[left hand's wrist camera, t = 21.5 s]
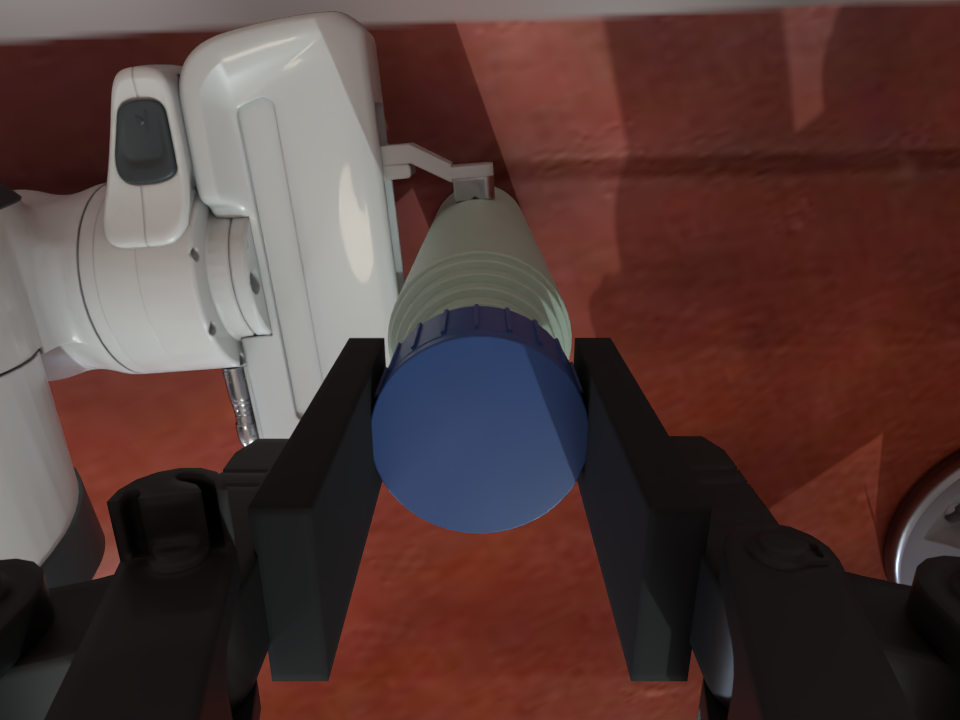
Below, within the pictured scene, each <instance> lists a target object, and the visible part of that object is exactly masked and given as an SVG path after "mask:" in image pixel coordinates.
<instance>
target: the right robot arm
mask: <svg viewBox="0 0 960 720" xmlns="http://www.w3.org/2000/svg"><path fill="white" fill-rule="evenodd" d="M415 166H417V167H419V168H421V169H424V170H426V171H428V172H430V173H432V174H434V175H436V176H438V177H441V178H443V179H445V180H447V181H449V182H451V183H452V182H453V188H454V197H455V202H459V201H467V200H471V199H473V198H474V197H476V198H478V199H492V198H495V188H494V174H493V162H480V163H467V164H455V165H453V162H452V161H450V160H448V159H446V158H444V157H442V156H440V155H438V154H436V153H433V152H431V151H429V150H427V149H425V148H423V147H421V146H419V145H417V144H415V143H413V142H412V143H400V144H388V139H387V131H386V123H385V115H384V107H383V98H382V90H381V82H380V74H379V66H378V58H377V50H376V43H375V40H374V37H373V36H372V35H371V33H370V32H369V31H368V30H367V29H366V28H365V27H364V26H363V25H362V24H360V23H359V22H358V21H357V20H355V19H354V18H352V17H350V16H349V15H347V14H344V13H342V12H335V11H334V12H318V13H310V14H303V15H296V16H290V17H285V18H280V19H274V20H270V21H265V22H261V23H257V24H253V25H249V26H245V27H242V28H238V29H234V30H231V31H228V32H225V33H222V34H219V35H216V36H214V37H212V38H210V39H208V40H206V41H204V42H203V43H201V44H200V45H198V46H197V47H196V48H195V49H194V50H193V51H192V52H191V53H190V54H189V56H188V57H187V59H186V60H185V62H184V64H183V66H177V65H167V64H153V65H141V66H135V67H129V68H125V69H123V70H121V71H119V72H118V73H117V75H116V76H115V78H114V81H113V85H112V94H111V122H110V147H109V163H108V176H107V183H103V184H99V185H96V186H93V187H91V188H88V189H86V190H84V191H82V192H78V193H75V194H70V195H55V194H49V193H45V192H40V191H33V190H12V189H10V188H9V187H7V186H5V185H4V184H2V183H0V560H5V559H22V560H28V561H34V562H35V563H36V564H37V565H38V566H40V567H41V568H42V569H43V570H44V574H45V577H46V581H47V585H48V588H49V589H50V588H55V587H60V586H65V585H70V584H75V583H80V582H85V581H90V580H92V579H93V577H94V575H95V573H96V571H97V569H98V567H99V565H100V563H101V561H102V558H103V555H104V551H105V536H104V533H103V531H102V528H101V526H100V523H99V521H98V518H97V516H96V514H95V511H94V509H93V506H92V504H91V502H90V499H89V497H88V494H87V492H86V489H85V487H84V485H83V482H82V480H81V477H80V475H79V474H78V472H77V470H76V469H75V467H74V466H73V464H72V461H71V457H70V454H69V451H68V447H67V444H66V440H65V437H64V434H63V430H62V427H61V424H60V420H59V417H58V414H57V410H56V407H55V403H54V400H53V397H52V393H51V390H50V387H49V383H48V381H54V380H60V379H65V378H69V377H72V376H75V375H77V374H80V373H82V372H85V371H88V370H93V369H109V370H114V371H119V372H123V373H129V374H149V373H162V372H176V371H189V370H203V369H216V368H222V371H223V376H224V379H225V384H226V388H227V392H228V395H229V399H230V402H231V404H232V407H233V409H234V413H235V417H236V431H237V435H238V438H239V440H240V443H241V444H242V446H243V447H245V446H247V445H248V444H250V443H252V442H253V441H255V440H256V439H289V438H290V436H291V435H292V433H293V431H294V430H295V428H296V426H297V425H298V423H299V421H300V420H301V418H302V416H303V415H304V413H305V411H306V410H307V408H308V406H309V405H310V403H311V401H312V400H313V398H314V396H315V395H316V393H317V391H318V390H319V388H320V386H321V384H322V383H323V381H324V379H325V378H326V376H327V374H328V373H329V371H330V369H331V368H332V366H333V364H334V363H335V361H336V359H337V358H338V356H339V354H340V353H341V351H342V349H343V348H344V346H345V344H346V343H347V341H348V339H349V338H384V339H385V358H386V367H387V368H388V367H389V364H390V362H391V360H390V354H389V349H388V327H389V322H390V317H391V313H392V311H393V308H394V305H395V303H396V301H397V298H398V296H399V294H400V292H401V290H402V288H403V285H404V283H405V278H404V270H403V262H402V254H401V246H400V237H399V229H398V221H397V213H396V205H395V197H394V188H393V180H394V179H404V178H410V177H411V176H412V175H413V174H414V173H415V172H416V170H415Z"/></svg>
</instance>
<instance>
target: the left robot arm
mask: <svg viewBox="0 0 960 720" xmlns="http://www.w3.org/2000/svg"><path fill="white" fill-rule="evenodd" d="M385 367H386V358H385V339H384V338H349V339H348V341H347V343H346V344H345V346H344V348H343V349H342V351H341V353H340V354H339V356H338V358H337V359H336V361H335V363H334V364H333V366H332V368H331V369H330V371H329V373H328V374H327V376H326V378H325V379H324V381H323V383H322V384H321V386H320V388H319V390H318V391H317V393H316V395H315V396H314V398H313V400H312V401H311V403H310V405H309V406H308V408H307V410H306V411H305V413H304V415H303V416H302V418H301V420H300V421H299V423H298V425H297V426H296V428H295V430H294V431H293V433H292V435H291V436H290V438H289V439H256V440H255V441H253V442H252V443H250V444H248V445H247V446H245V447H244V448H242V449H241V450H239V451H237V452H236V453H235V454H234V455H233V457H232V458H231V460H230V461H229V462H228V464H227V465H226V466H225V468H224V469H223V473H220V474H218V473H217V472H215V471H211V470H206V469H202V468H178V469H173V470H167V471H162V472H157V473H154V474H151V475H149V476H146V477H143V478H140V479H137V480H135V481H133V482H132V483H130V484H128V485H126V486H125V487H123V488H121V489H120V490H118V491H117V492H116V493H115V494H114V495H113V496H112V497H111V498H110V499H109V500H108V501H107V505H108V509H109V514H110V518H111V523H112V527H113V531H114V536H115V540H116V544H117V549H118V553H119V557H120V563H119V566H118V568H117V570H116V572H115V574H114V575H111V576H107V577H103V578H99V579H95V580H90V581H85V582H80V583H75V584H70V585H65V586H60V587H55V588H50V589H49V588H48V585H47V581H46V577H45V574H44V570H43V569H42V568H41V567H40V566H38V565H37V564H36V563H35V562H34V561H28V560H22V559H5V560H0V720H259V719H260V711H261V705H260V697H259V690H258V684H257V676H258V674H259V671H260V669H261V666H262V664H263V661H264V659H265V656H266V654H267V651H268V654H269V661H270V668H271V675H272V681H328V680H329V676H330V673H331V669H332V665H333V662H334V658H335V654H336V651H337V647H338V643H339V639H340V636H341V632H342V628H343V625H344V621H345V617H346V613H347V610H348V606H349V602H350V599H351V595H352V591H353V587H354V584H355V580H356V576H357V573H358V569H359V565H360V562H361V558H362V554H363V550H364V547H365V543H366V539H367V536H368V532H369V528H370V524H371V521H372V517H373V513H374V510H375V506H376V502H377V498H378V495H379V491H380V487H381V484H382V479H381V477H380V475H379V473H378V471H377V469H376V466H375V463H374V456H373V440H372V424H371V415H372V411H373V407H374V404H375V401H376V399H375V398H374V395H375V392H376V390H377V387H378V384H379V382H380V379H381V377H382V374H383V371H384V369H385ZM574 368H575V370H576V373H577V375H578V378H579V381H580V383H581V386H582V389H583V391H584V393H581V395H582V398H583V401H584V404H585V406H586V409H587V414H588V433H587V448H586V461H585V464H584V467H583V469H582V472H581V474H580V476H579V478H578V479H577V482H578V485H579V489H580V493H581V496H582V500H583V504H584V508H585V511H586V515H587V519H588V522H589V526H590V530H591V534H592V537H593V541H594V545H595V548H596V552H597V556H598V560H599V563H600V567H601V571H602V574H603V578H604V582H605V585H606V589H607V593H608V597H609V600H610V604H611V608H612V611H613V615H614V619H615V623H616V626H617V630H618V634H619V637H620V641H621V645H622V649H623V652H624V656H625V660H626V663H627V667H628V671H629V675H630V678H631V681H687V679H688V672H689V665H690V658H691V651H692V649H693V652H694V654H695V657H696V659H697V662H698V664H699V667H700V669H701V672H702V674H703V684H702V690H701V697H700V703H699V710H698V716H697V720H960V452H958V453H957V454H955V455H953V456H952V457H950V458H948V459H947V460H945V461H944V462H942V463H941V464H940V465H938V466H937V467H935V468H934V469H933V470H932V471H931V472H929V473H928V474H927V475H926V476H925V477H924V478H923V479H922V480H921V481H920V482H919V483H918V484H917V485H916V486H915V487H914V488H913V489H912V490H911V492H910V493H909V494H908V495H907V497H906V498H905V499H904V501H903V502H902V504H901V505H900V507H899V509H898V510H897V512H896V514H895V516H894V518H893V520H892V522H891V525H890V528H889V530H888V534H887V538H886V542H885V549H884V564H885V571H886V575H887V579H888V581H885V580H880V579H875V578H870V577H865V576H860V575H857V574H853V573H849V572H845V571H844V568H843V566H842V564H841V562H840V560H839V559H838V558H837V557H836V555H835V554H834V553H833V552H832V550H831V549H830V548H829V547H828V546H826V545H825V544H823V543H822V542H820V541H819V540H817V539H816V538H815V537H813V536H811V535H809V534H806V533H804V532H802V531H799V530H797V529H794V528H792V527H788V526H783V525H779V524H778V522H777V521H776V520H775V518H774V517H773V516H772V514H771V513H770V512H769V510H768V509H767V507H766V506H765V505H764V503H763V502H762V501H761V499H760V498H759V497H758V495H757V494H756V493H755V491H754V490H753V489H752V487H751V486H750V485H749V484H747V480H746V479H745V478H744V476H743V475H742V474H741V472H740V471H739V470H737V467H736V466H735V464H734V463H733V462H732V460H731V459H730V457H729V456H728V455H727V453H726V452H725V451H724V450H723V449H721V448H720V447H718V446H716V445H715V444H713V443H712V442H710V441H708V440H707V439H705V438H704V437H702V436H669V435H668V434H667V432H666V430H665V429H664V427H663V425H662V424H661V422H660V420H659V419H658V417H657V415H656V414H655V412H654V410H653V409H652V407H651V405H650V404H649V402H648V400H647V399H646V397H645V395H644V394H643V392H642V390H641V389H640V387H639V385H638V384H637V382H636V380H635V379H634V377H633V375H632V374H631V372H630V370H629V369H628V367H627V365H626V364H625V362H624V360H623V359H622V357H621V355H620V354H619V352H618V350H617V349H616V347H615V345H614V343H613V342H612V340H611V338H575V349H574Z"/></svg>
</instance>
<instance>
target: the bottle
mask: <svg viewBox="0 0 960 720" xmlns="http://www.w3.org/2000/svg"><path fill="white" fill-rule="evenodd" d="M494 188H495V198H492V199H478V198H476V197H474V198H473V199H471V200H467V201H459V202H455V197H454V192H453V193H452V194H451V195H450V196H448V197H447V199H446V200H445V201H444V202H443V203H442V205H441V206H440V208H439V210H438V212H437V214H436V216H435V218H434V221H433V223H432V225H431V227H430V229H429V231H428V234H427V236H426V238H425V240H424V242H423V244H422V247H421V249H420V251H419V253H418V255H417V257H416V260H415V262H414V264H413V266H412V268H411V270H410V273H409V275H408V277H407V279H406V281H405V283H404V285H403V288H402V290H401V292H400V294H399V296H398V298H397V301H396V303H395V305H394V308H393V311H392V313H391V317H390V322H389V327H388V349H389V354H390V360H391V359H392V356H393V354H394V351H395V348H396V346H397V344H398V342H400V343H402V342H403V341H404V339H405V338H406V337H407V336H408V335H409V334H410V333H411V332H412V331H413V330H414V329H416V327H417V324H418V323H419V322H421V323H424V322H425V321H427V320H429V319H431V318H433V317H434V316H436V315H439V314H441V313H444V310H445V309H448V310H453V309H458V308H462V307H471V306H475V304H479V306H489V307H496V308H502V309H505V308H506V307H508V308H509V309H510V311H513V312H516V313H518V314H520V315H523V316H525V317H527V318H529V319H530V320H532V321H533V319H535V320H537V322H538V325H540V326H541V327H542V328H544V329H545V330H546V331H547V332H548V333H549V334H550V335H551V336H552V337H553V338H554V339H556V338H558V340H559V341H560V344H561V347H562V349H563V351H564V353H565V355H566V357H567V359H568V360H569V357H570V351H571V341H572V333H571V324H570V320H569V316H568V312H567V309H566V307H565V304H564V302H563V300H562V298H561V295H560V293H559V291H558V289H557V287H556V285H555V282H554V280H553V278H552V276H551V274H550V272H549V269H548V267H547V265H546V263H545V261H544V259H543V256H542V254H541V252H540V250H539V248H538V246H537V243H536V241H535V239H534V237H533V235H532V233H531V230H530V228H529V226H528V224H527V222H526V220H525V217H524V215H523V213H522V211H521V209H520V207H519V205H518V204H517V203H516V201H515V200H514V199H513V198H512V197H511V196H510V195H509V194H507V193H506V192H505V191H503V190H501V189H499V188H497V187H494Z"/></svg>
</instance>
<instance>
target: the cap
mask: <svg viewBox="0 0 960 720" xmlns="http://www.w3.org/2000/svg"><path fill="white" fill-rule="evenodd" d="M581 393H584V391H583V389H582V386H581V383H580V381H579V378H578V375H577V373H576V370H575V368H574V365H573V363H572V362H570V363H569V360H568V359H567V357H566V355H565V353H564V351H563V349H562V347H561V344H560V341H559V340H558V338H556V339H554V338H553V337H552V336H551V335H550V334H549V333H548V332H547V331H546V330H545V329H544V328H542V327H541V326H540V325H538V322H537V320H535V319H533V321H532V320H530V319H529V318H527V317H525V316H523V315H520V314H518V313H516V312H513V311H510V309H509V308H508V307H506V308H505V309H502V308H496V307H489V306H479V304H475V306H471V307H462V308H458V309H453V310H448V309H445V310H444V313H441V314H439V315H436V316H434V317H433V318H431V319H429V320H427V321H425V322H424V323H421V322H419V323H418V324H417V327H416V329H414V330H413V331H412V332H411V333H410V334H409V335H408V336H407V337H406V338H405V339H404V341H403V342H402V343H400V342H398V344H397V346H396V348H395V351H394V354H393V356H392V359H391V362H390V364H389V367H388V368H387V367H385V369H384V371H383V374H382V377H381V379H380V382H379V384H378V387H377V390H376V392H375V395H374V398H375V399H376V401H375V404H374V407H373V411H372V415H371V424H372V440H373V456H374V463H375V466H376V469H377V471H378V473H379V475H380V477H381V479H382V481H383V482H384V484H385V485H386V487H387V488H388V490H389V491H390V492H391V493H392V494H393V496H394V497H395V498H396V499H397V500H398V501H399V502H400V503H401V504H402V505H404V506H405V507H406V508H407V509H408V510H409V511H411V512H412V513H414V514H416V515H417V516H419V517H420V518H422V519H424V520H426V521H428V522H430V523H432V524H435V525H437V526H440V527H443V528H446V529H450V530H455V531H460V532H468V533H491V532H500V531H505V530H509V529H513V528H516V527H519V526H522V525H525V524H527V523H529V522H531V521H533V520H536V519H537V518H539V517H541V516H542V515H544V514H545V513H547V512H548V511H550V510H551V509H552V508H553V507H555V506H556V505H557V504H558V503H559V502H560V501H561V500H562V499H563V498H564V497H565V496H566V495H567V494H568V493H569V491H570V490H571V489H572V487H573V486H574V485H575V483H576V481H577V479H578V478H579V476H580V474H581V472H582V469H583V467H584V464H585V461H586V448H587V433H588V414H587V409H586V406H585V404H584V401H583V398H582V395H581Z"/></svg>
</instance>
